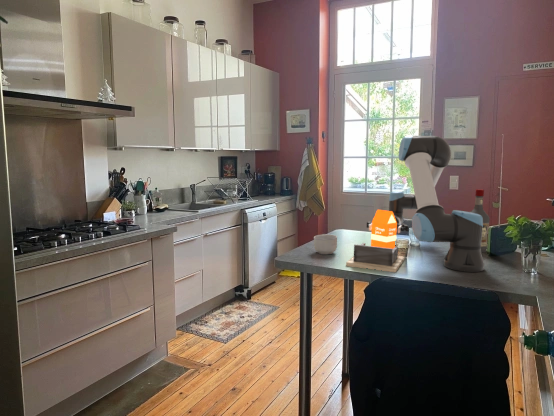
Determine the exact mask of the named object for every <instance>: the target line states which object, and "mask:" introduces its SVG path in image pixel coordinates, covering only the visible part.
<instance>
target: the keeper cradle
mask: <svg viewBox="0 0 554 416" xmlns="http://www.w3.org/2000/svg"><path fill="white" fill-rule="evenodd" d="M404 261H405V256H404V255H403V256H402V255H399V246H397V245H396V246H395V247H394V248H393V249H392V248H383V247H374V246H371V245H366V243H365V242H362V243H360V244H354V245H353V255H352V256H351V258H350V259H348V260H347V261H346V264H345V266H347V267H353V268H360V269H366V268H368V269H367V270H374V269H376V270H375V271H381V270H382V272H391V273H396V272H398V270H399V268H400V267H401V265H402V264H403V262H404Z"/></svg>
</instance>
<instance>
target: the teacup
mask: <svg viewBox="0 0 554 416" xmlns="http://www.w3.org/2000/svg"><path fill="white" fill-rule="evenodd" d="M313 244H314V245H313V246H314V250H315V252H317V253H318V254H320V255H332V254H334V252H335V251H336V250H337V247H338V236H337V235H335V234H326V233H322V234H317V235H315V236H313Z"/></svg>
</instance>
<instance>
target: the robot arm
mask: <svg viewBox="0 0 554 416" xmlns="http://www.w3.org/2000/svg"><path fill="white" fill-rule="evenodd" d="M398 149H399V150H398V160H399V161H401V162H404V165H405V166H406V168H408V169H409V173H410V179H411V183H412V187H413V188H412V189H413V192H414V194H413V195H412V194H411V195H407V194H405V193H404V191H396V190H395V191H391V192H390V193H389V197H388V211H392V212H393V214H394V217H395V219H396V222H397V234H400V233H401V232H404V231H405V232H409V225H407V224H405V223H404V221H405V219H404V210H415V212H414V215H412V218H411V224H412V225H411V227H412V228H411V229H412V233H413V235H414V237H415V238H416V240H418V241H419V242H422V243H423V242H426V243H449V248H448V250H447V253H446V255H445V257H444V259H443V265H444V267H445V268H448V269H451V270H455V271H457V272H458V271H459V272H466V273H478V272H479V273H480V272H483V271H484V270H485V263H484V258H483V255H482V252H481V240H482V228H483V218H482V216H481V215H479V214H475V213H471V211H466V210H465V211H463V210H458V209H452V211H451V213H445V208H444V207H443V206H442V205H440V204H439V200H438V195H437V191H436V186H437V183H438V181H439V179H440V177H441V174H442V172H443V171H444V169H445V168H447V166H448V165H449V163H450V161H451V156H452V151H451V147H450V144H449V143H448V141H446V140H445V139H444V138H443V137H442V136H441V137H440V136H439V135H438V136H437V135H413V134H412V135H405V136H403V137H402V139H401V140H400V144H399V148H398ZM366 228H367V229H368V232H371V231H372V221H367V222H366Z"/></svg>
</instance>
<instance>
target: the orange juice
mask: <svg viewBox="0 0 554 416" xmlns="http://www.w3.org/2000/svg"><path fill="white" fill-rule="evenodd" d="M371 222H372V230H371V234H370V246H374V247H383V248H392V249H393V248H394V247H395V241H396V242H397V233H398V229H397V222H396V219H395V217H394V214H393V212H392V211H389V210H386V209H385V210H384V209H377V210H376V211H375V215H374V217H373V218H372V221H371Z"/></svg>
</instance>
